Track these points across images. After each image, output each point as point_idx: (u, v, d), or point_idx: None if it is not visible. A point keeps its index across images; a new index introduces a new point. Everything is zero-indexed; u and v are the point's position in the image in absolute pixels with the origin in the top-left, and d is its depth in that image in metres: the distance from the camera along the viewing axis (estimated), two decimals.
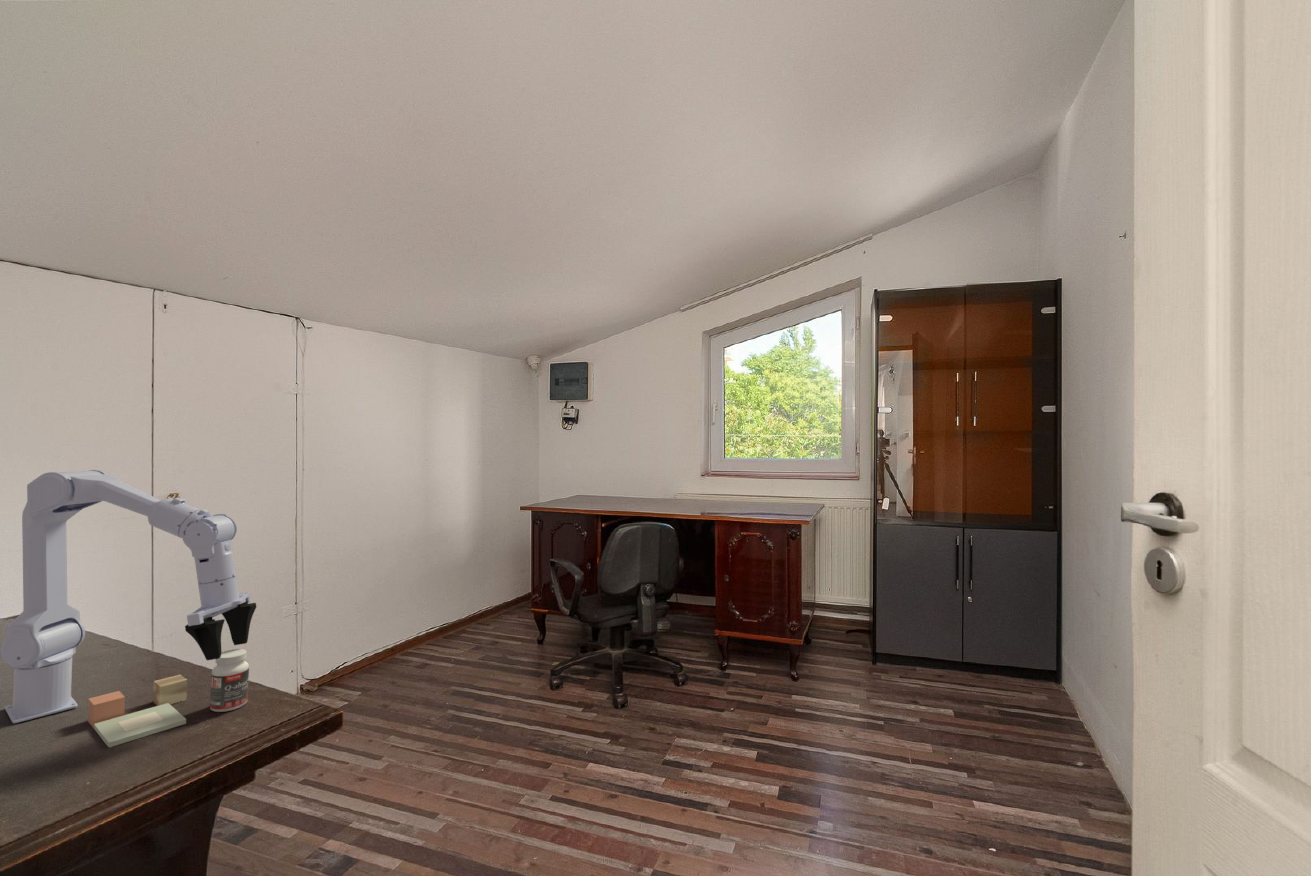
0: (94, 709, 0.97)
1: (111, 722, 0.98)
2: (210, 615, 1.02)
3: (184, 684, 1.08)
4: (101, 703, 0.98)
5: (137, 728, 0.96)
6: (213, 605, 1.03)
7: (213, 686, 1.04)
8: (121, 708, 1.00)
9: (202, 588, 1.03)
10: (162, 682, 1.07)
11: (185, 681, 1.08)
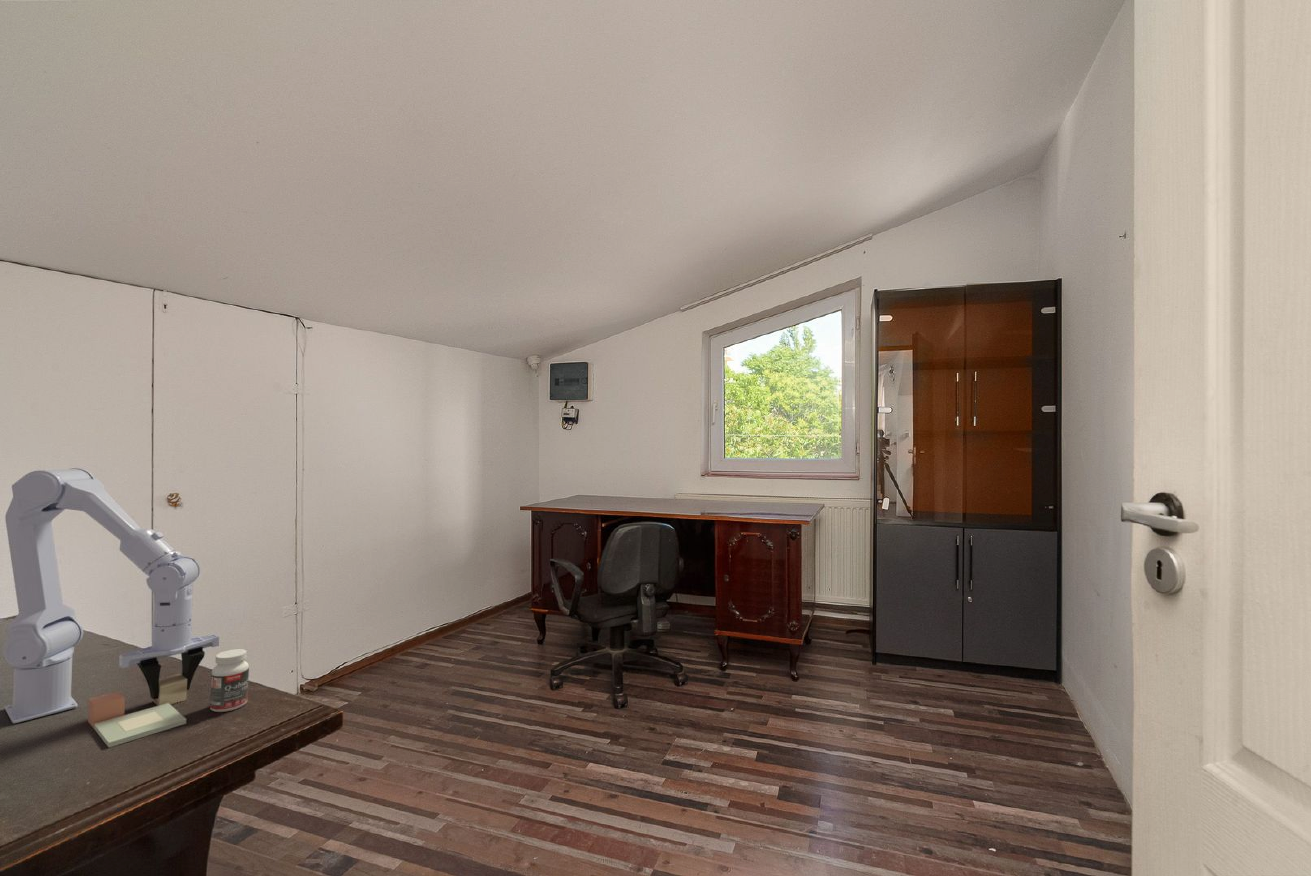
0: (94, 709, 0.97)
1: (111, 722, 0.98)
2: (148, 658, 1.05)
3: (184, 683, 1.08)
4: (101, 703, 0.98)
5: (137, 728, 0.96)
6: (153, 648, 1.05)
7: (213, 686, 1.04)
8: (121, 708, 1.00)
9: None
10: (162, 681, 1.07)
11: (185, 680, 1.08)
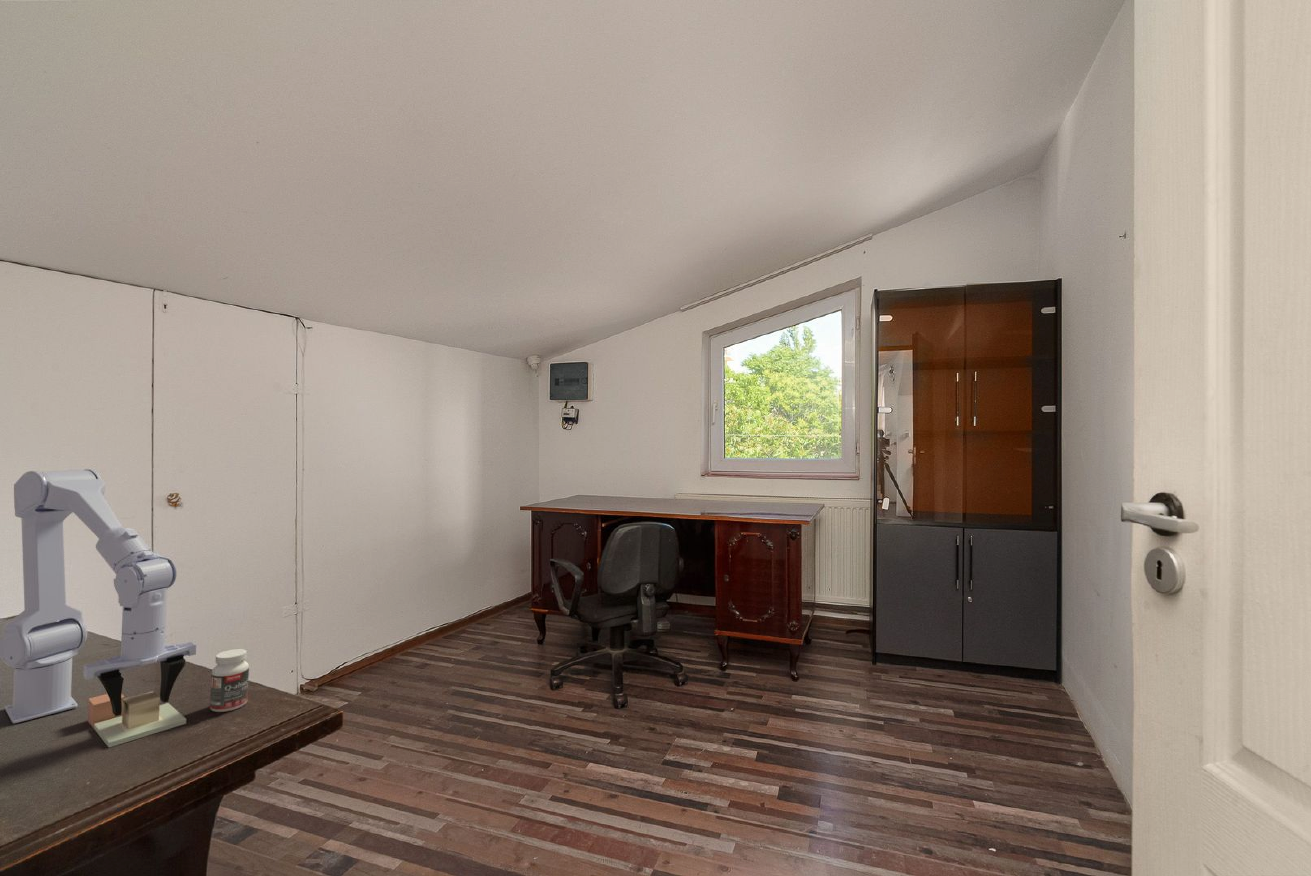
0: (94, 709, 0.97)
1: (111, 722, 0.98)
2: (116, 668, 0.95)
3: (156, 702, 0.98)
4: (101, 703, 0.98)
5: (137, 728, 0.96)
6: (122, 658, 0.96)
7: (213, 686, 1.04)
8: None
9: None
10: (132, 700, 0.97)
11: (157, 699, 0.98)
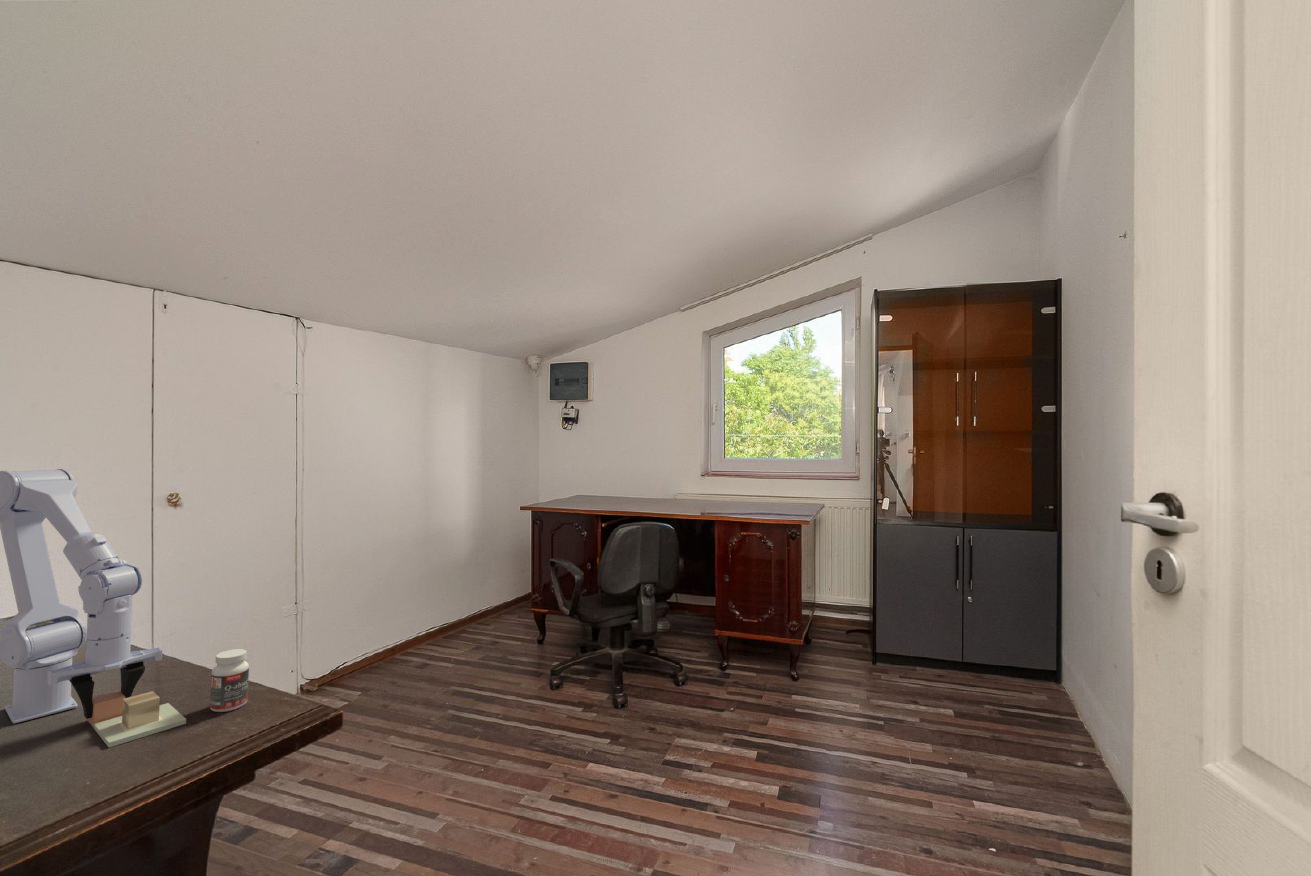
0: (94, 708, 0.97)
1: (111, 722, 0.98)
2: (80, 674, 0.97)
3: (156, 702, 0.98)
4: (101, 702, 0.98)
5: (137, 728, 0.96)
6: (86, 664, 0.98)
7: (213, 686, 1.04)
8: (121, 707, 1.00)
9: None
10: (132, 700, 0.97)
11: (157, 699, 0.98)
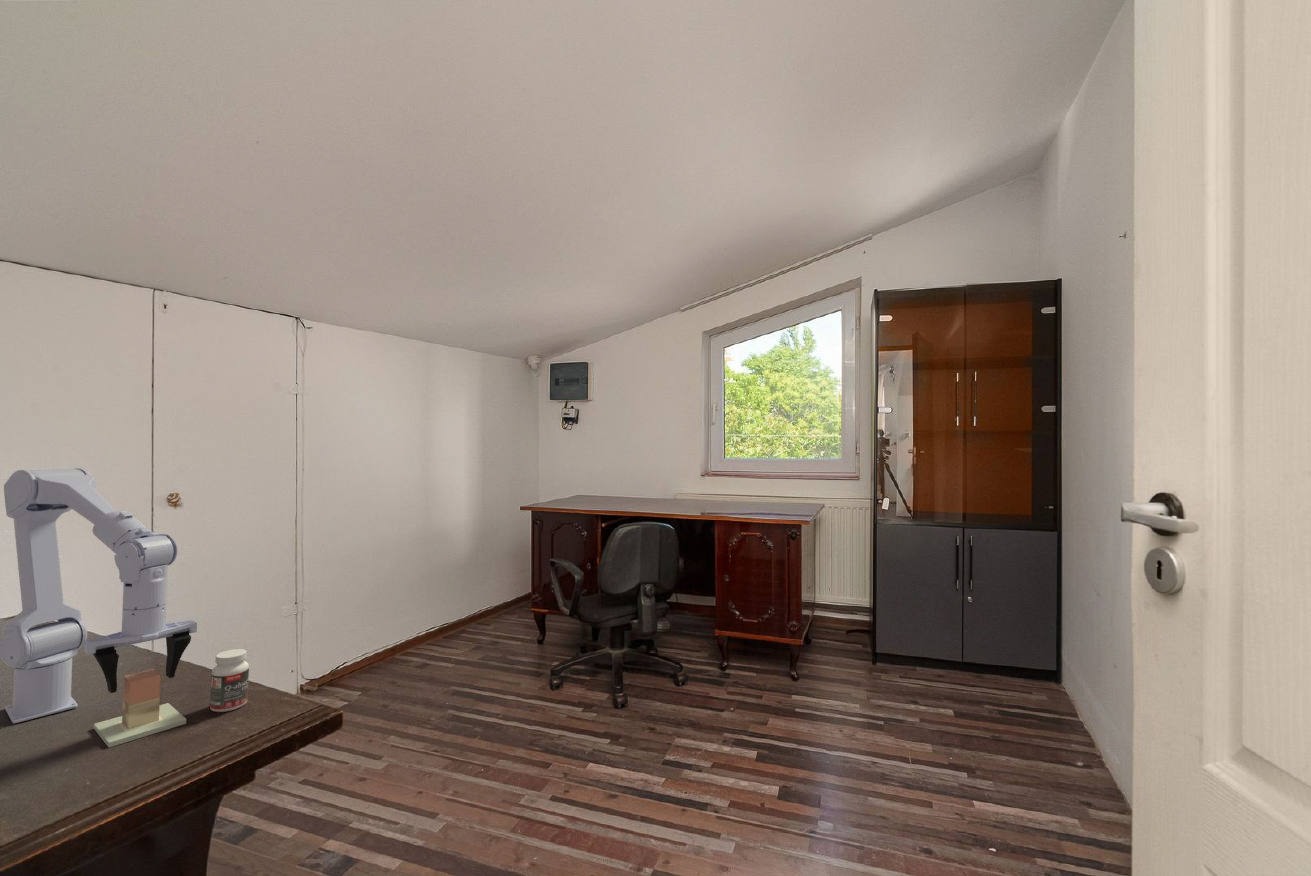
0: (130, 686, 0.96)
1: (111, 722, 0.98)
2: (117, 644, 0.95)
3: (156, 702, 0.98)
4: (137, 680, 0.96)
5: (137, 728, 0.96)
6: (123, 634, 0.96)
7: (213, 686, 1.04)
8: (157, 686, 0.98)
9: None
10: None
11: (157, 699, 0.98)
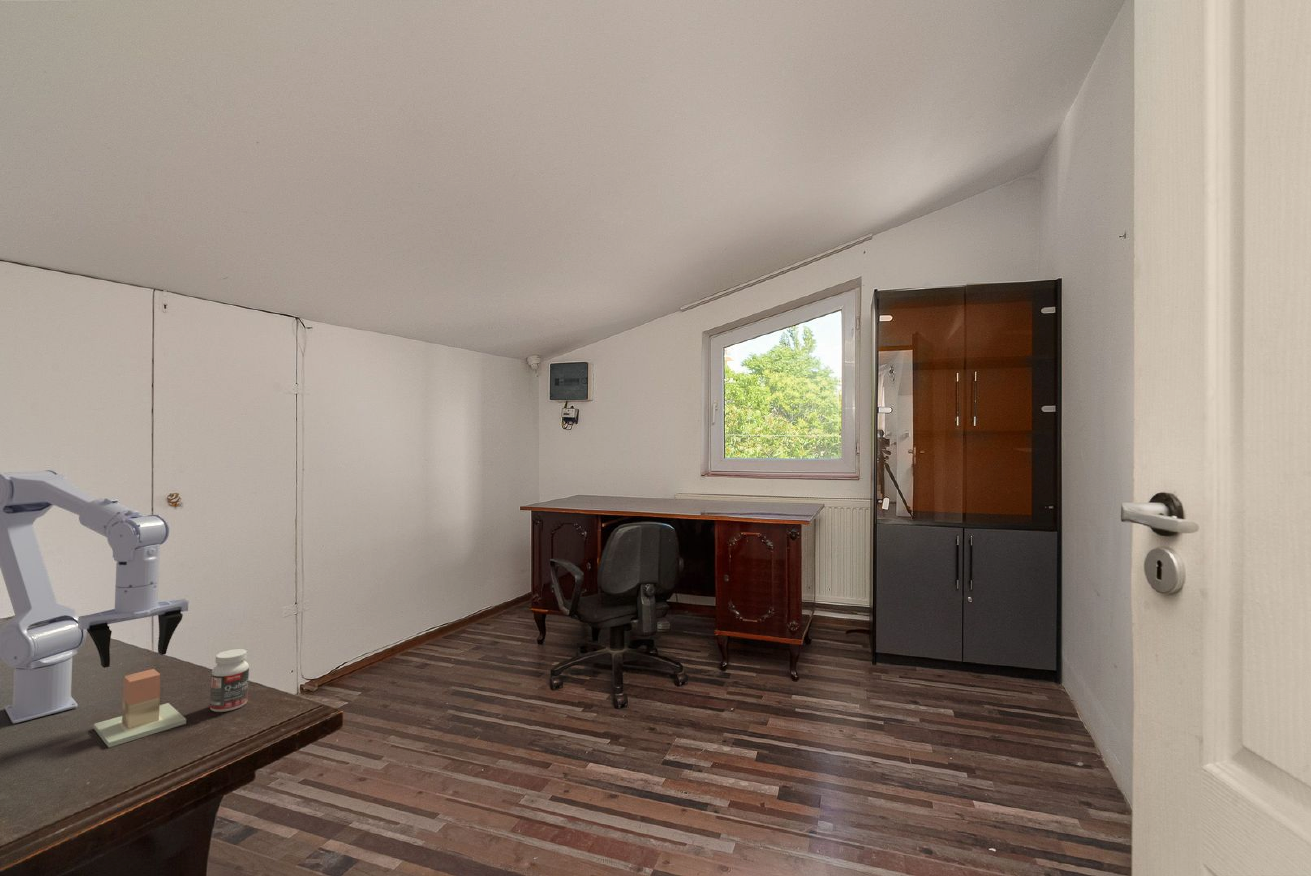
0: (130, 686, 0.96)
1: (111, 722, 0.98)
2: (110, 620, 0.98)
3: (156, 702, 0.98)
4: (137, 680, 0.96)
5: (137, 728, 0.96)
6: (116, 611, 0.99)
7: (213, 686, 1.04)
8: (157, 686, 0.98)
9: None
10: None
11: (157, 699, 0.98)
